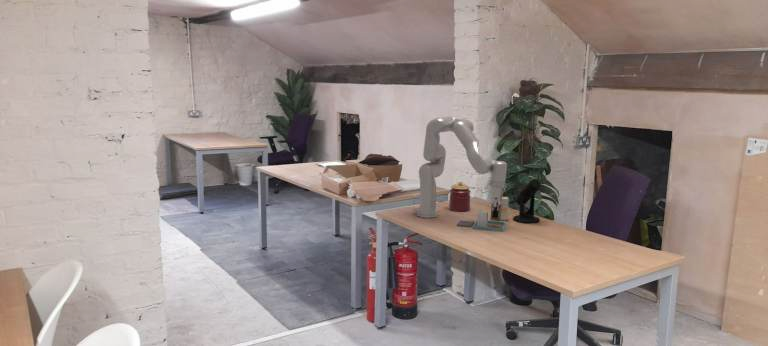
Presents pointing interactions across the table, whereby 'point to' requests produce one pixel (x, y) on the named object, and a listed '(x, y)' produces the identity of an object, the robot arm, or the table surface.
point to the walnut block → (498, 213)
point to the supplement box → (504, 208)
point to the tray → (490, 227)
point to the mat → (465, 223)
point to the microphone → (523, 198)
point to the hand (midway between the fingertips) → (495, 215)
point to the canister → (460, 197)
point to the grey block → (482, 218)
